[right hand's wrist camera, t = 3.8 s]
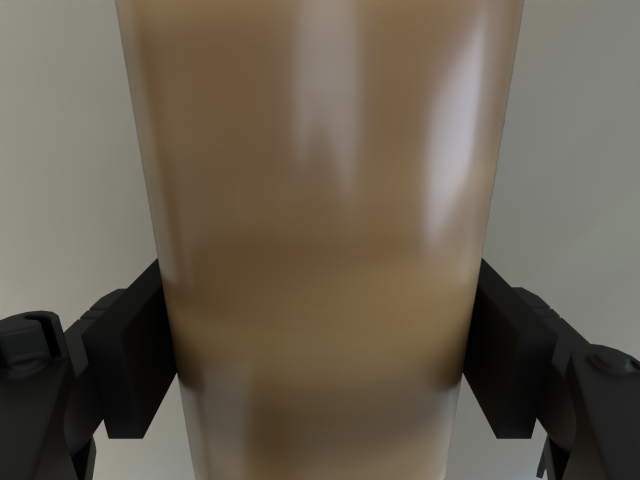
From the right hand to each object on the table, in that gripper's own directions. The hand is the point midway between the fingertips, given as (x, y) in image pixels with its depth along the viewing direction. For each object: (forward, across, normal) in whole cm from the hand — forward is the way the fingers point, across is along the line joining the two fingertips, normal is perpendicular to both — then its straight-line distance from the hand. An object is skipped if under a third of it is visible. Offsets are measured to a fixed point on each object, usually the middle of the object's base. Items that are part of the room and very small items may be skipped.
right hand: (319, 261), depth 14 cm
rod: (+1, 0, -7) cm, 7 cm away
